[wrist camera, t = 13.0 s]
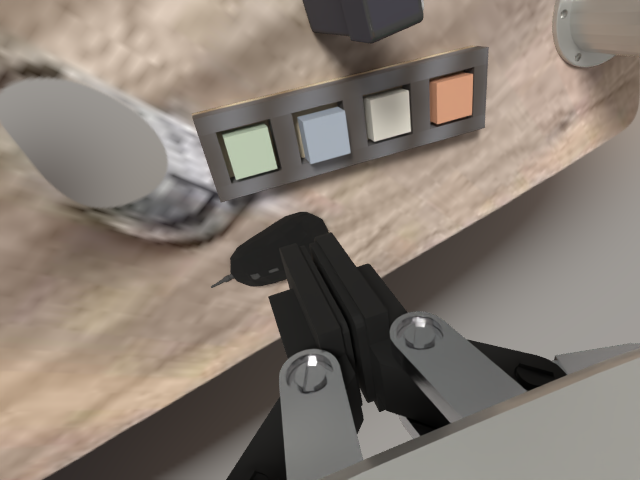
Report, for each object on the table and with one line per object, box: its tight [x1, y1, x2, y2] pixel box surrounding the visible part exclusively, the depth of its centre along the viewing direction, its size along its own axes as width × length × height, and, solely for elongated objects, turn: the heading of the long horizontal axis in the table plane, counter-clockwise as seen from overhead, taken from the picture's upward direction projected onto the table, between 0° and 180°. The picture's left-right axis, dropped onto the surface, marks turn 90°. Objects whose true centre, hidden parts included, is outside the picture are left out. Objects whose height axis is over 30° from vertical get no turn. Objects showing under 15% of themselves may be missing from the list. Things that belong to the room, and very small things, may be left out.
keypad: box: [192, 46, 489, 202], centre depth 40 cm, size 29×8×3 cm, turn 100°
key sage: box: [222, 122, 277, 180], centre depth 37 cm, size 4×4×2 cm
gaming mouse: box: [211, 212, 328, 288], centre depth 44 cm, size 6×15×4 cm, turn 115°
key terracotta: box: [429, 72, 473, 124], centre depth 41 cm, size 4×4×2 cm
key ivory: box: [363, 88, 411, 142], centre depth 40 cm, size 4×4×2 cm
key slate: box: [297, 107, 351, 164], centre depth 37 cm, size 4×4×2 cm
